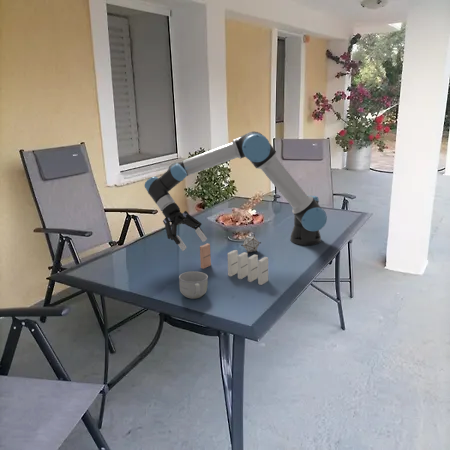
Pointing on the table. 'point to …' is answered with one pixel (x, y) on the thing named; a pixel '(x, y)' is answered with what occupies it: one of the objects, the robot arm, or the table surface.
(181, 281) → the teacup
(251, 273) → the domino
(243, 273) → the domino
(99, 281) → the table surface
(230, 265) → the domino
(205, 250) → the domino
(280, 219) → the table surface
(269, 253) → the table surface
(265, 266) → the domino
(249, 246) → the game die
